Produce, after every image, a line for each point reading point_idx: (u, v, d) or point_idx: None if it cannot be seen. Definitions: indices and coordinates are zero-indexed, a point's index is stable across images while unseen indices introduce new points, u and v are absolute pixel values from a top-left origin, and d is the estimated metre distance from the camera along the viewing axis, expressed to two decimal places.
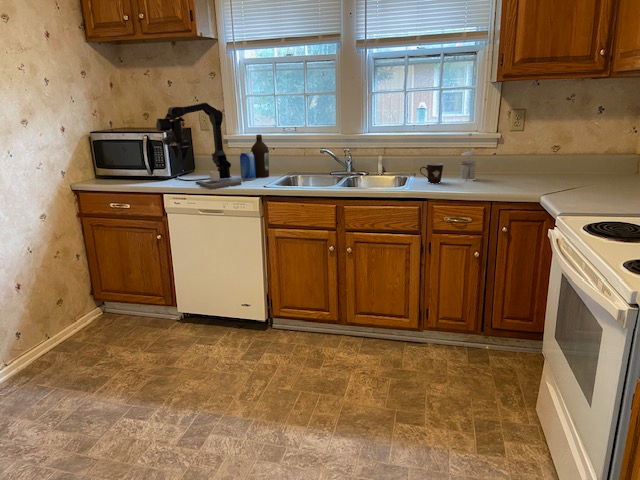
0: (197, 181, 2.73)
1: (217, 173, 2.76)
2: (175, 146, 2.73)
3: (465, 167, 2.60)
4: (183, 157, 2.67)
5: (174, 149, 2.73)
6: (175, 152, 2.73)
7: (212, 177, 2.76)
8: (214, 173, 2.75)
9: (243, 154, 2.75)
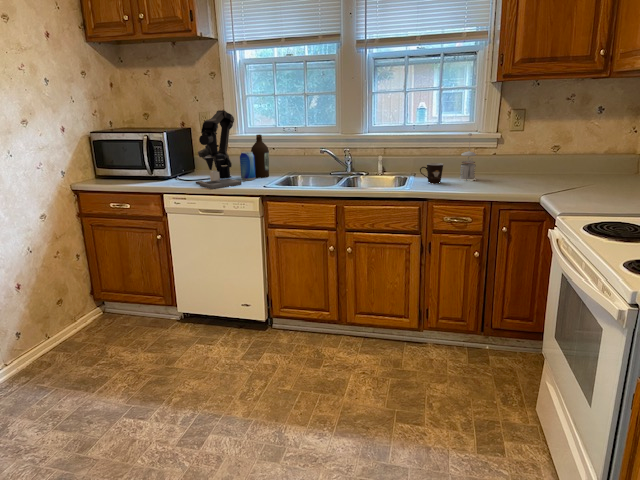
0: (197, 181, 2.73)
1: (217, 173, 2.76)
2: (209, 158, 2.79)
3: (465, 167, 2.60)
4: (218, 170, 2.73)
5: (208, 161, 2.79)
6: (209, 164, 2.79)
7: (212, 177, 2.76)
8: (214, 173, 2.75)
9: (243, 154, 2.75)
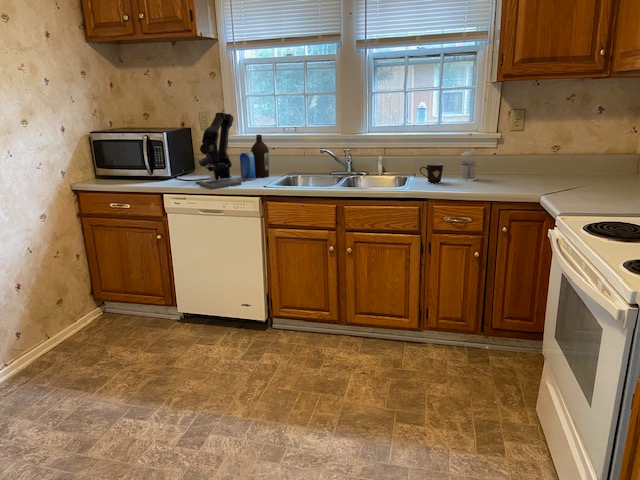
0: (197, 181, 2.73)
1: None
2: (212, 168, 2.78)
3: (465, 167, 2.60)
4: (217, 178, 2.76)
5: None
6: None
7: (212, 177, 2.76)
8: (214, 173, 2.75)
9: (243, 154, 2.75)
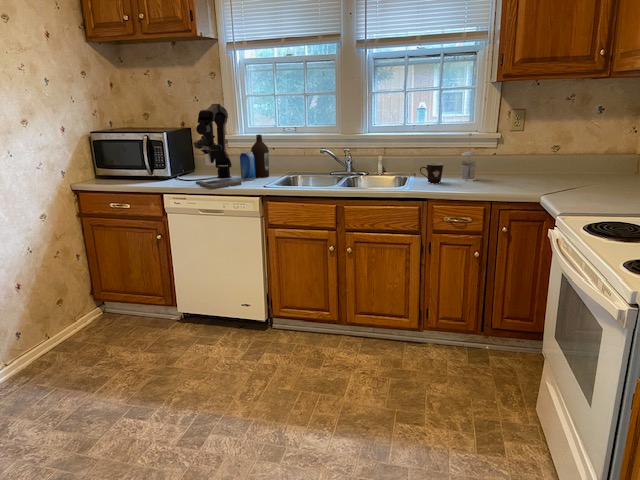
0: (197, 181, 2.73)
1: None
2: (207, 150, 2.66)
3: (465, 167, 2.60)
4: (212, 161, 2.63)
5: (206, 153, 2.66)
6: None
7: (207, 160, 2.63)
8: (209, 155, 2.62)
9: (243, 154, 2.75)
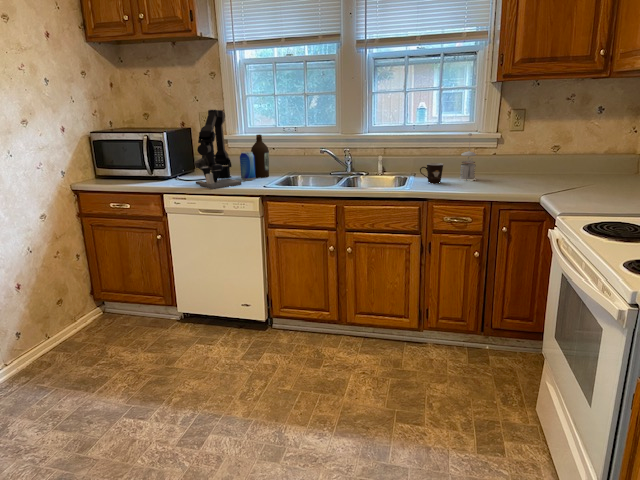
0: (197, 181, 2.73)
1: None
2: (206, 169, 2.67)
3: (465, 167, 2.60)
4: (215, 181, 2.61)
5: (205, 172, 2.67)
6: None
7: (208, 180, 2.63)
8: (210, 176, 2.62)
9: (243, 154, 2.75)
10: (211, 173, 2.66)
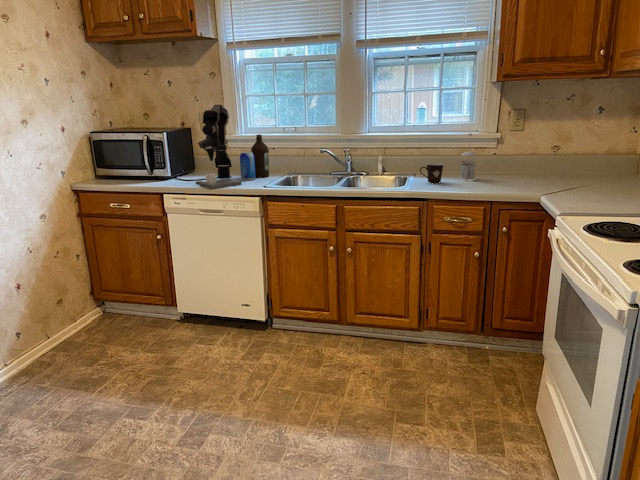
0: (197, 181, 2.73)
1: (213, 176, 2.63)
2: (210, 149, 2.72)
3: (465, 167, 2.60)
4: (219, 161, 2.66)
5: (209, 152, 2.72)
6: (210, 155, 2.72)
7: (208, 180, 2.63)
8: (210, 176, 2.62)
9: (243, 154, 2.75)
10: (211, 173, 2.66)
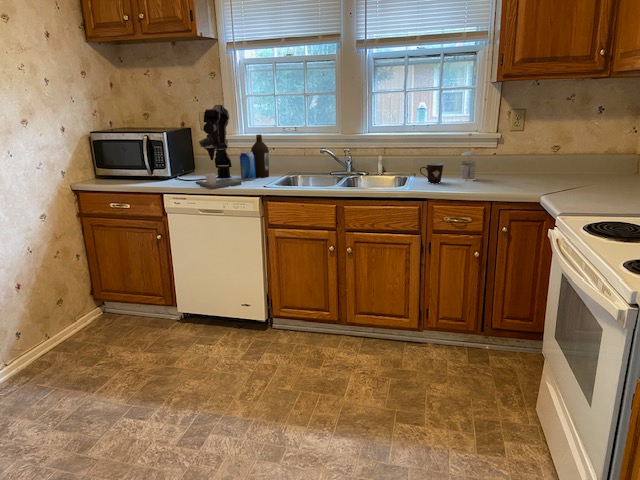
0: (197, 181, 2.73)
1: (213, 176, 2.63)
2: (211, 148, 2.73)
3: (465, 167, 2.60)
4: (220, 159, 2.66)
5: (210, 151, 2.72)
6: (211, 154, 2.73)
7: (208, 180, 2.63)
8: (210, 176, 2.62)
9: (243, 154, 2.75)
10: (211, 173, 2.66)
